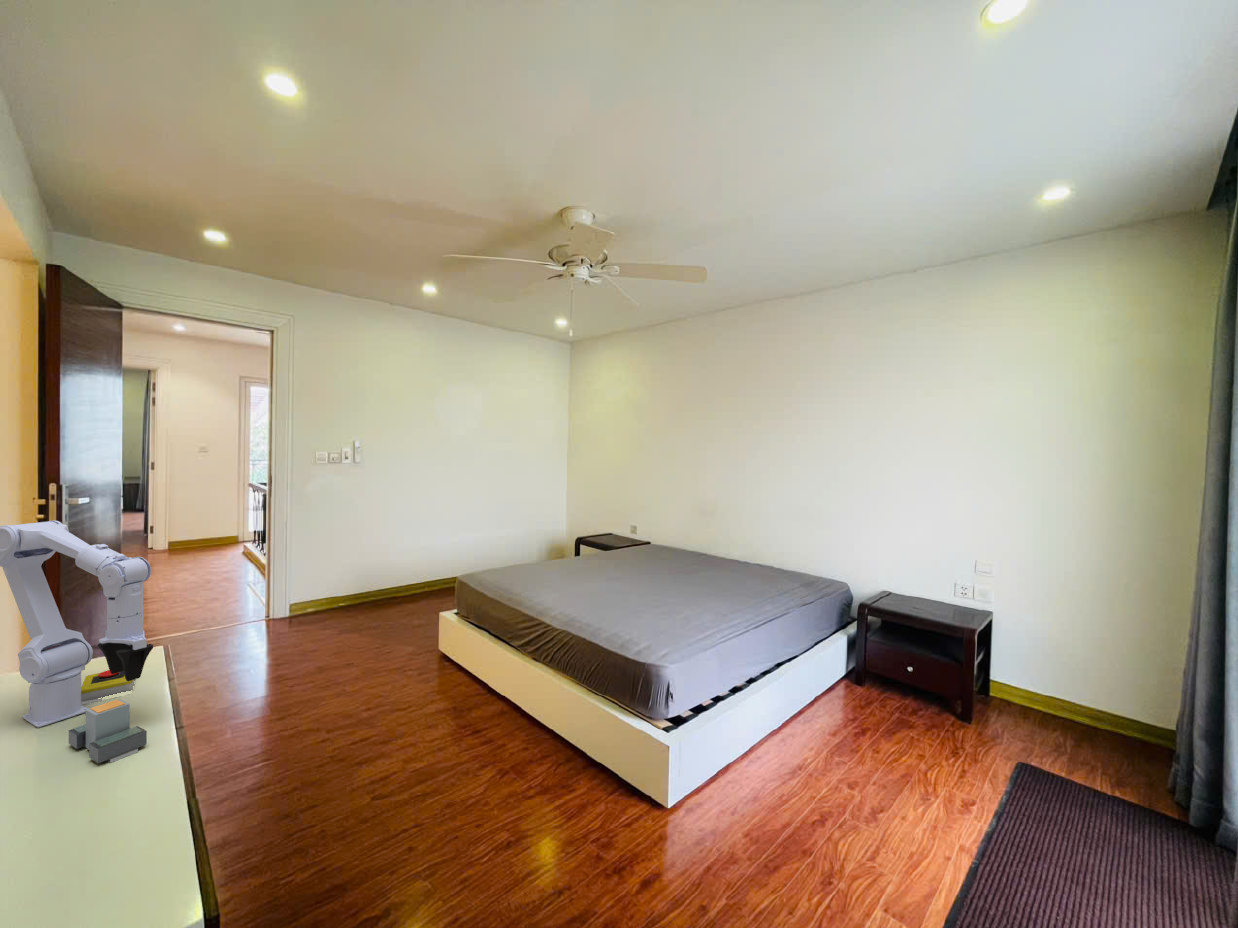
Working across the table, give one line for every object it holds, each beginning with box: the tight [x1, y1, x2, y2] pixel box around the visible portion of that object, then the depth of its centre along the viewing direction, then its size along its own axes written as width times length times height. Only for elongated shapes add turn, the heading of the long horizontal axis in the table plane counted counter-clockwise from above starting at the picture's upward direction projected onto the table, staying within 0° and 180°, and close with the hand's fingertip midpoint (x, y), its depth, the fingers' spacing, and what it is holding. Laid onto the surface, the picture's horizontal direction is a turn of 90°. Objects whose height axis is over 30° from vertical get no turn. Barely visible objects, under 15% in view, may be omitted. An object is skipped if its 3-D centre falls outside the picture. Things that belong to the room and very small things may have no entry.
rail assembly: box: [68, 723, 148, 764], centre depth 99 cm, size 15×7×4 cm, turn 64°
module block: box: [85, 698, 131, 750], centre depth 99 cm, size 4×5×8 cm
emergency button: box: [81, 669, 136, 706], centre depth 123 cm, size 9×4×15 cm
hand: (125, 675), depth 109 cm, fingers open, 7 cm apart
